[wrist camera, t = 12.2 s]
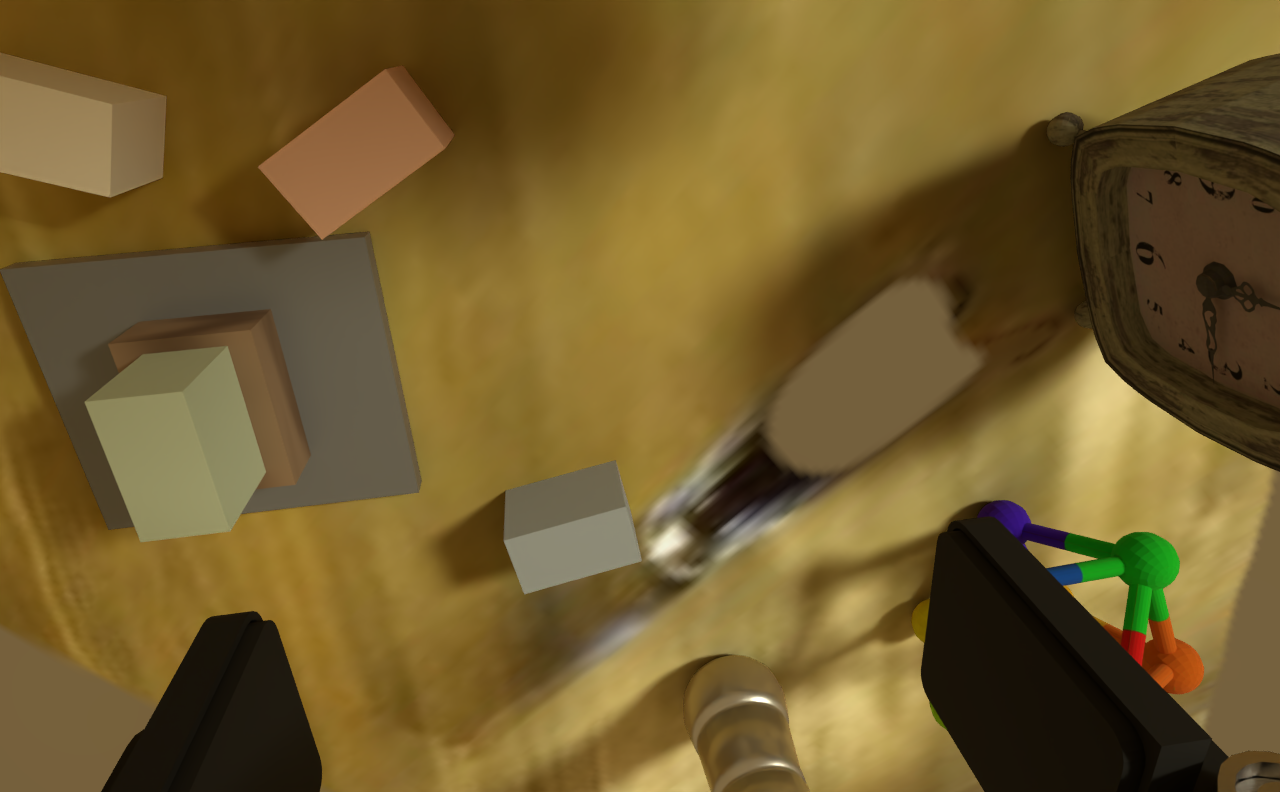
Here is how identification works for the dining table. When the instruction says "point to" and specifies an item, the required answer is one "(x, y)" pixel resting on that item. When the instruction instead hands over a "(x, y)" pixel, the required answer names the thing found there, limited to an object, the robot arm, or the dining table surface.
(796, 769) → the plastic bottle
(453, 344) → the dining table surface
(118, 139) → the brick cream
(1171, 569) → the educational toy
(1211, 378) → the tabletop clock
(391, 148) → the brick terracotta
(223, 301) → the slate board
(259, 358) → the brick walnut
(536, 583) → the grey block
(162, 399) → the brick sage
